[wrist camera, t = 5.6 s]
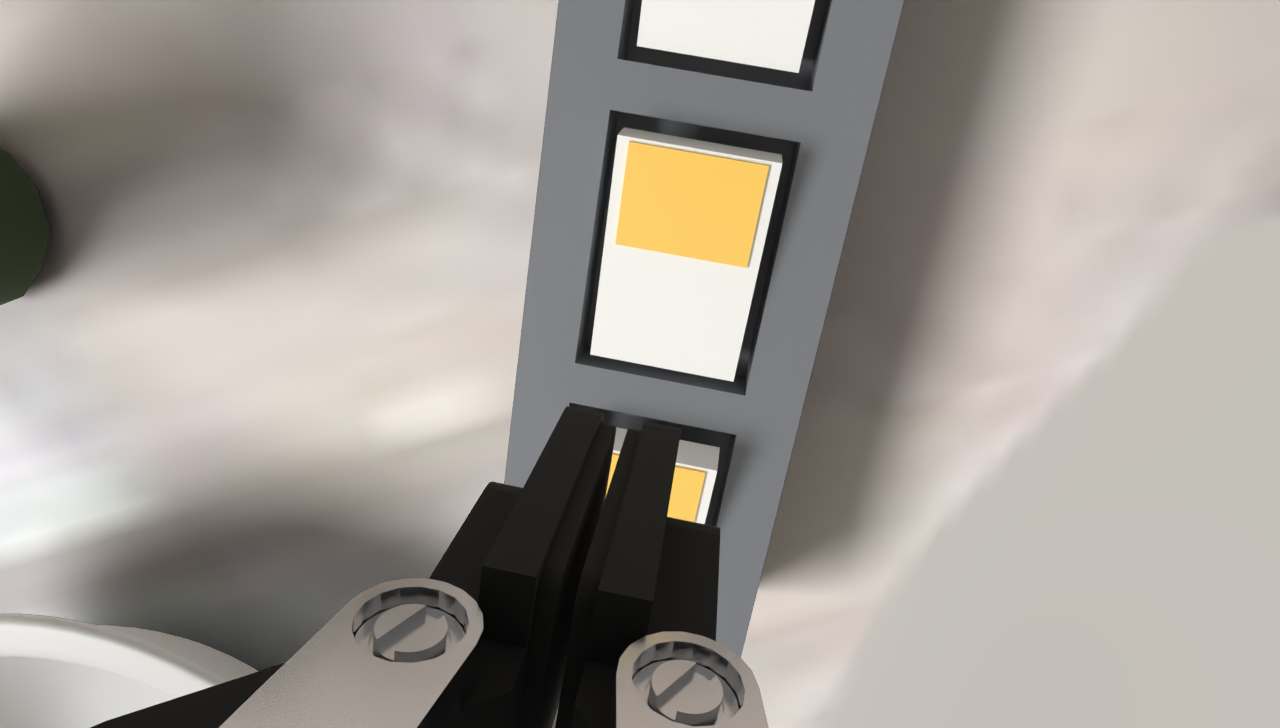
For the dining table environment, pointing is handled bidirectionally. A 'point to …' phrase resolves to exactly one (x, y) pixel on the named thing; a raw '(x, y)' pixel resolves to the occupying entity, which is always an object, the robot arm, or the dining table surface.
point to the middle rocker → (682, 251)
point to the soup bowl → (97, 670)
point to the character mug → (19, 230)
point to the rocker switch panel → (789, 268)
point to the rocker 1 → (684, 478)
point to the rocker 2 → (729, 30)
